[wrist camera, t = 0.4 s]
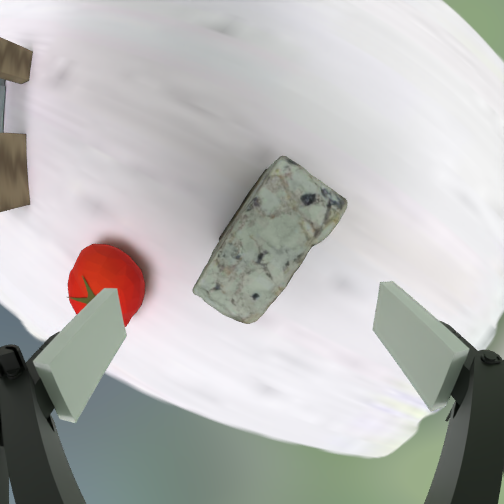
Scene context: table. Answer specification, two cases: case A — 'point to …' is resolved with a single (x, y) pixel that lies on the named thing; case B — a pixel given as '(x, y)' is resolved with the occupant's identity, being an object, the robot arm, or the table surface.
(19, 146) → the wall frame
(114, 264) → the tomato
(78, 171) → the table surface
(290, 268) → the stone block
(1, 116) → the gate
